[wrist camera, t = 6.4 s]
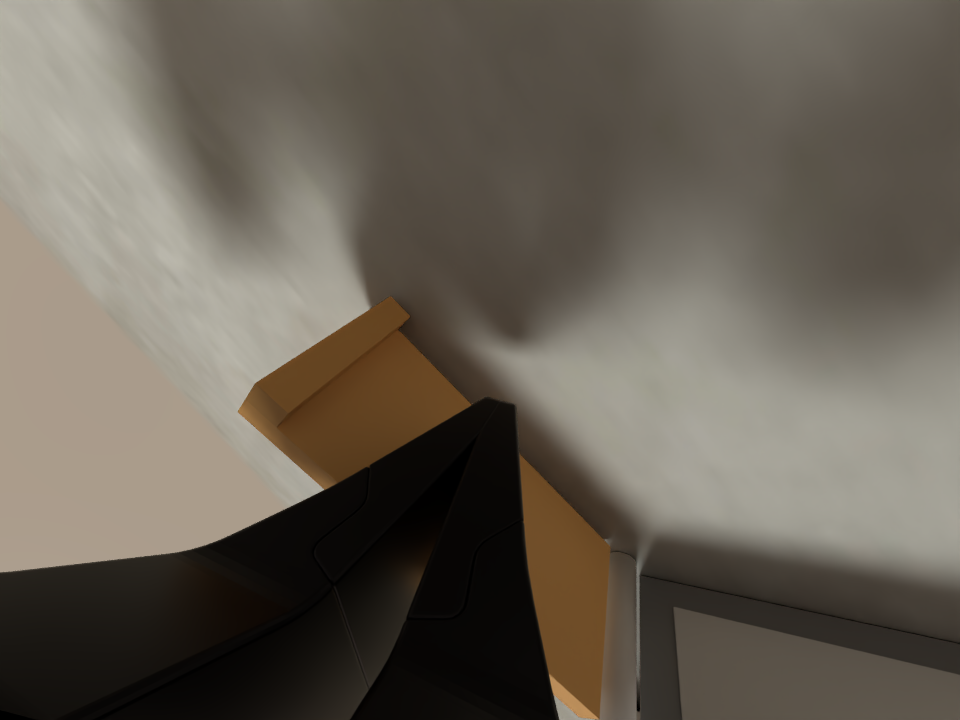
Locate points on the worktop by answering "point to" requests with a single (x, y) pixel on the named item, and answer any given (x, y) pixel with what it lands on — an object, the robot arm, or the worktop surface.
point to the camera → (637, 715)
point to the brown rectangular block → (401, 418)
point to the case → (762, 660)
